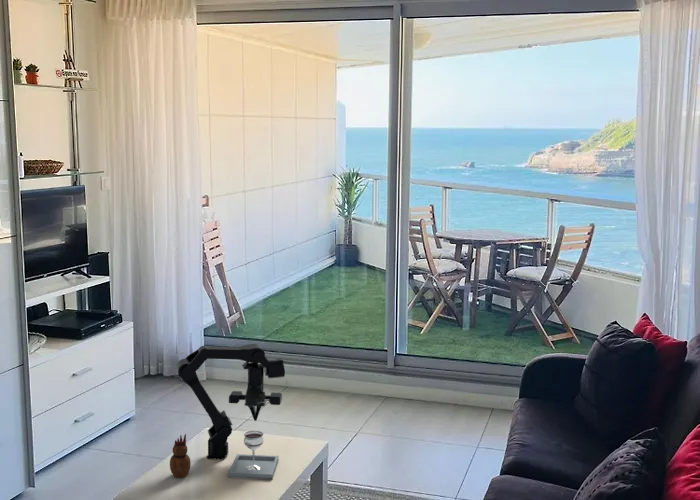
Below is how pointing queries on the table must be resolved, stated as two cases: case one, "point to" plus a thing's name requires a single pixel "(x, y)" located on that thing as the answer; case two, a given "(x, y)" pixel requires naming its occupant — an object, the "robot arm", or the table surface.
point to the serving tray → (264, 461)
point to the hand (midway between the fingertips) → (255, 420)
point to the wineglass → (253, 445)
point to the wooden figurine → (180, 459)
